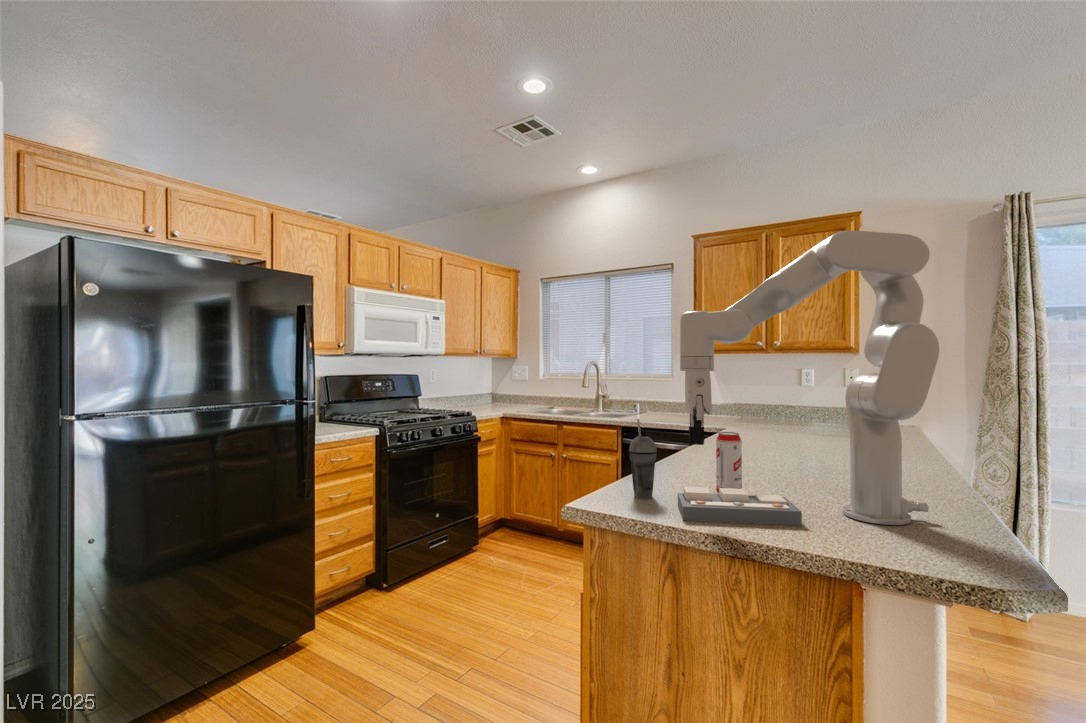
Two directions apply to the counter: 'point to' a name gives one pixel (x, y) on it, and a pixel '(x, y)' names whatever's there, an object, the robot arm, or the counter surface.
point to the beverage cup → (642, 465)
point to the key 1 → (697, 494)
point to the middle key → (733, 495)
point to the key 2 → (770, 499)
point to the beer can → (728, 461)
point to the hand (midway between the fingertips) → (696, 443)
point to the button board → (739, 511)
